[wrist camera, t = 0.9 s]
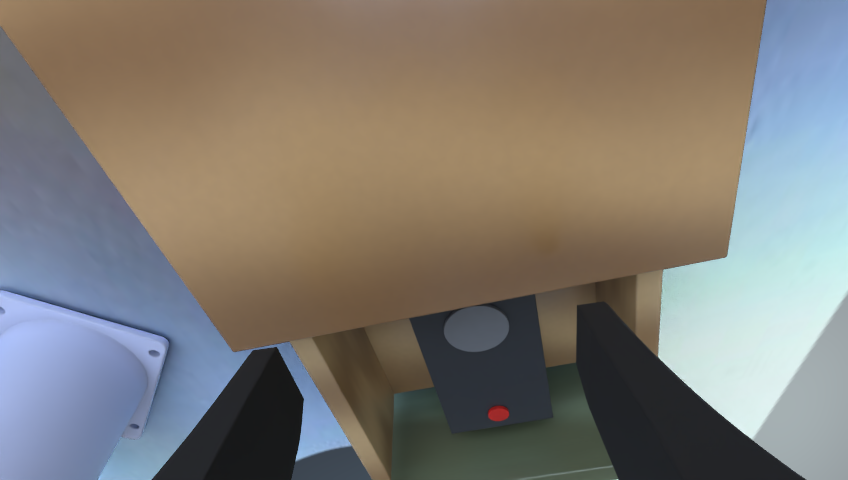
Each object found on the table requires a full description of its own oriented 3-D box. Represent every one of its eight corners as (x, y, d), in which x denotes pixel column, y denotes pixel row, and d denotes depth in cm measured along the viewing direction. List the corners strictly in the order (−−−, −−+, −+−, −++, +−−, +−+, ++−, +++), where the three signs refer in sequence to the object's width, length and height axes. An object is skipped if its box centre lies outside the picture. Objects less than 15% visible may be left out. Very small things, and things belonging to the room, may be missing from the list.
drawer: (621, 413, 28) (663, 516, 23) (402, 447, 29) (400, 550, 25) (618, 114, 17) (694, 193, 13) (277, 194, 19) (233, 290, 14)
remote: (538, 364, 23) (554, 421, 21) (447, 380, 24) (451, 437, 21) (514, 214, 18) (531, 265, 16) (399, 239, 19) (397, 292, 16)
